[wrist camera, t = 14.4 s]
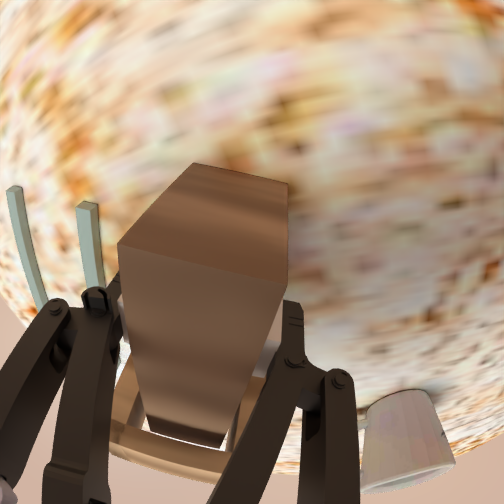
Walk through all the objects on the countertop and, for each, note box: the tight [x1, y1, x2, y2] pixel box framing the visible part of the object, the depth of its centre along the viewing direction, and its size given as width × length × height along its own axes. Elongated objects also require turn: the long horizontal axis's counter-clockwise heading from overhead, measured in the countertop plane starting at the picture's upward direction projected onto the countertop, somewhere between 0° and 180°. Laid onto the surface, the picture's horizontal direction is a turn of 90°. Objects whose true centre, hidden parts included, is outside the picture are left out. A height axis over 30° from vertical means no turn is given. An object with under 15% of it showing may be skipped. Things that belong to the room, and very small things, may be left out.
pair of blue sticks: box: [6, 186, 121, 369], centre depth 21 cm, size 18×9×1 cm, turn 168°
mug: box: [357, 390, 456, 494], centre depth 23 cm, size 10×15×10 cm
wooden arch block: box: [109, 353, 267, 484], centre depth 18 cm, size 5×10×11 cm, turn 78°
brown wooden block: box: [117, 163, 288, 449], centre depth 16 cm, size 16×5×8 cm, turn 168°
